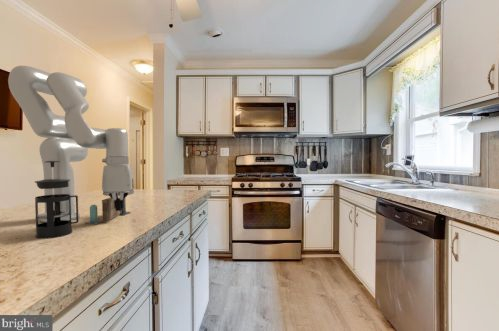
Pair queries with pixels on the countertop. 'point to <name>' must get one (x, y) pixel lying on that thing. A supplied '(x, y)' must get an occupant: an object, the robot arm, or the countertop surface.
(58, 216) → the french press
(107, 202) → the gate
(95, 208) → the latch post
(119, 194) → the gate post
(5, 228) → the countertop surface
